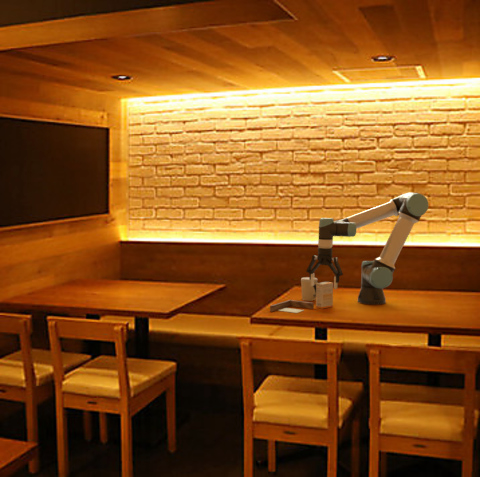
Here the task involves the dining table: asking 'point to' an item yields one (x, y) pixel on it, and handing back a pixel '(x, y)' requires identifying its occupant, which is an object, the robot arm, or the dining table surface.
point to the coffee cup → (308, 289)
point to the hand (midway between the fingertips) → (323, 287)
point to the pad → (290, 310)
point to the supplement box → (324, 294)
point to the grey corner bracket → (291, 303)
